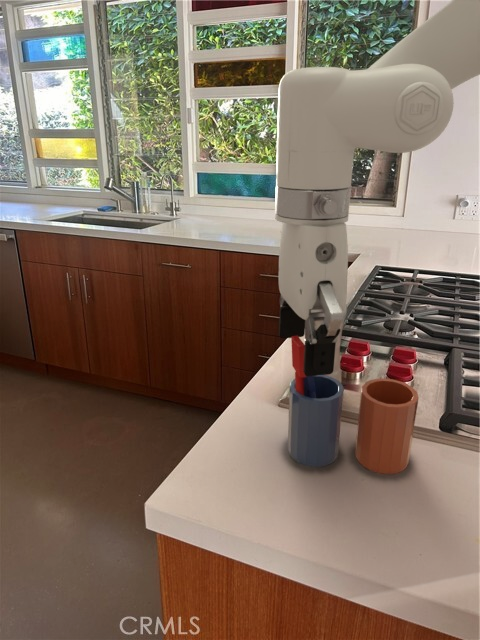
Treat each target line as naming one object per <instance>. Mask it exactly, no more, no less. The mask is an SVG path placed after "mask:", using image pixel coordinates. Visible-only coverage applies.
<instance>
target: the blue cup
mask: <svg viewBox="0 0 480 640" xmlns="http://www.w3.org/2000/svg"><path fill="white" fill-rule="evenodd" d="M313 379H314V384H315V388H316V391H315V394H316V398H310V397H308V392H307V386H306V385H305V383H304V396H303V395H301V394H300V393H299V392H297V391H296V385H295V378H293V379H292V380H291V381H290V382H289V390H288V391H289V393H288V422H287V423H288V424H287V425H288V427H287V430H288V431H287V452H288V455H289V456H290V457H291V458H292V459H293V460H294V461H295V462H296V463H298V464H301V465H302V466H305V467H306V466H307V467H310V468H311V467H312V468H322V467H326V466H329V465H331V464H333V463H334V462H335V461H336V460H337V458H338V456H339V449H340V438H341V426H342V425H341V424H342V413H343V400H344V386H343V384H342V382H341V383H340V382H339V381H338V380H336V379H334V378H332V377H329V376H326V375H317V376H313Z"/></svg>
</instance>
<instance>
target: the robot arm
mask: <svg viewBox="0 0 480 640" xmlns="http://www.w3.org/2000/svg"><path fill="white" fill-rule="evenodd" d="M477 76H480V0H450V1H449V2H448V3H447V4H446V5H444V6H443V7H442V8H441V9H439V10H438V11H437V12H435V13H434V14H433V15H432V16H430V17H429V18H428V19H426V20H425V21H424V22H423V23H421V24H420V25H418V26H417V27H416V28H415V29H414V30H412V31H411V32H409V34H407V35H406V36H405V37H403V38H402V39H401V40H400V41H399V42H397V43H396V44H394V46H392V47H391V48H390V49H389V50H388V51H387V52H386V53H384V54H383V55H381V57H379V58H378V59H377V60H376V61H375V62H374V63H373V64H371V65H370V66H369V67H368V68H367V69H366V68H365V69H356V70H355V69H354V70H351V69H348V68H345V67H337V66H336V67H335V66H311V67H310V66H309V67H301V68H296V69H295V68H294V69H292V70H290V71H287V72H286V73H285V74H284V75H283V76H282V78H281V79H280V81H279V85H278V96H277V128H276V131H277V133H276V167H275V168H276V170H275V171H276V173H275V175H276V176H275V204H274V205H275V207H274V218H275V220H276V221H277V222H280V223H281V228H280V229H281V230H280V239H279V241H280V242H279V254H278V290H279V293H280V297H279V305H280V307H279V317H278V319H279V321H278V322H279V323H278V336H279V337H280V339H282V340H283V339H291V337H292V336H298V337H299V338H302V337H305V321H306V327H307V333H308V339H309V340H307V341H305V340H304V345H305V350H304V368H303V372H304V374H305V375H306V376H317V375H327V374H331V373H333V369H334V357H335V346H336V342H337V341H338V335H339V332H340V329H339V328H340V325H341V323H342V320H343V316H344V314H345V311H346V304H347V297H348V296H347V295H348V274H349V273H348V270H349V266H348V265H349V246H348V232H347V224H346V223H347V222H348V221H349V215H350V205H351V204H350V202H351V192H352V191H351V190H352V178H353V168H354V167H353V166H354V157H355V156H354V155H355V150H356V149H364V150H371V151H379V152H384V153H393V154H407V153H412V152H415V151H418V150H421V149H423V148H425V147H427V146H428V145H430V144H432V143H434V142H435V141H436V140H437V139H438V138H439V137H440V136H441V135H442V133H443V132H444V131H445V130H446V129H447V127H448V126H449V125H448V124H449V123H450V122H451V118H452V115H453V111H454V105H455V104H454V103H455V102H454V93H453V90H454V89H455V88H457V87H459V86H460V85H462V84H464V83H465V82H467V81H470V80H471V79H474V78H475V77H477ZM319 309H323V311H324V312H314V313H311V310H319ZM320 320H324V324H322V325H320V326H319V328H318V329H317V330H316V329H315V323H314V321H320Z"/></svg>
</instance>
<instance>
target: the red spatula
mask: <svg viewBox="0 0 480 640" xmlns="http://www.w3.org/2000/svg"><path fill="white" fill-rule="evenodd" d="M290 339H291V362H292V368H293V369H294V371H295V372H294V379H295V385H296V391H297V392H299V393H300V394H301V395H303V396H304V377H306V375H305V374H304V372H303V368H304V350H305V342H303V340H302V339H301V337H298V336H292V337H291V338H290Z"/></svg>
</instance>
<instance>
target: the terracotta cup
mask: <svg viewBox="0 0 480 640" xmlns="http://www.w3.org/2000/svg"><path fill="white" fill-rule="evenodd" d="M419 398H420V397H419V393H418V392H417V390H416V389H415V388H414V387H413V386H411V385H409V384H408V383H405V382H403V381H400V380H398V379H393V378H373V379H370V380H368V381H365V382H364V383H363V384H362V386H361V389H360V398H359V409H358V410H359V411H358V417H357V431H356V439H355V447H354V452H355V454H354V455H355V458H356V460H357V461H358V463H359V464H360V465H361V466H362V467H364V468H365V469H367V470H369V471H371V472H374V473H377V474H381V475H395V474H399V473H401V472H403V471H404V470H406V468H407V467H408V465H409V461H410V456H411V449H412V444H413V435H414V429H415V423H416V417H417V410H418V405H419V404H418V403H419Z"/></svg>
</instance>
